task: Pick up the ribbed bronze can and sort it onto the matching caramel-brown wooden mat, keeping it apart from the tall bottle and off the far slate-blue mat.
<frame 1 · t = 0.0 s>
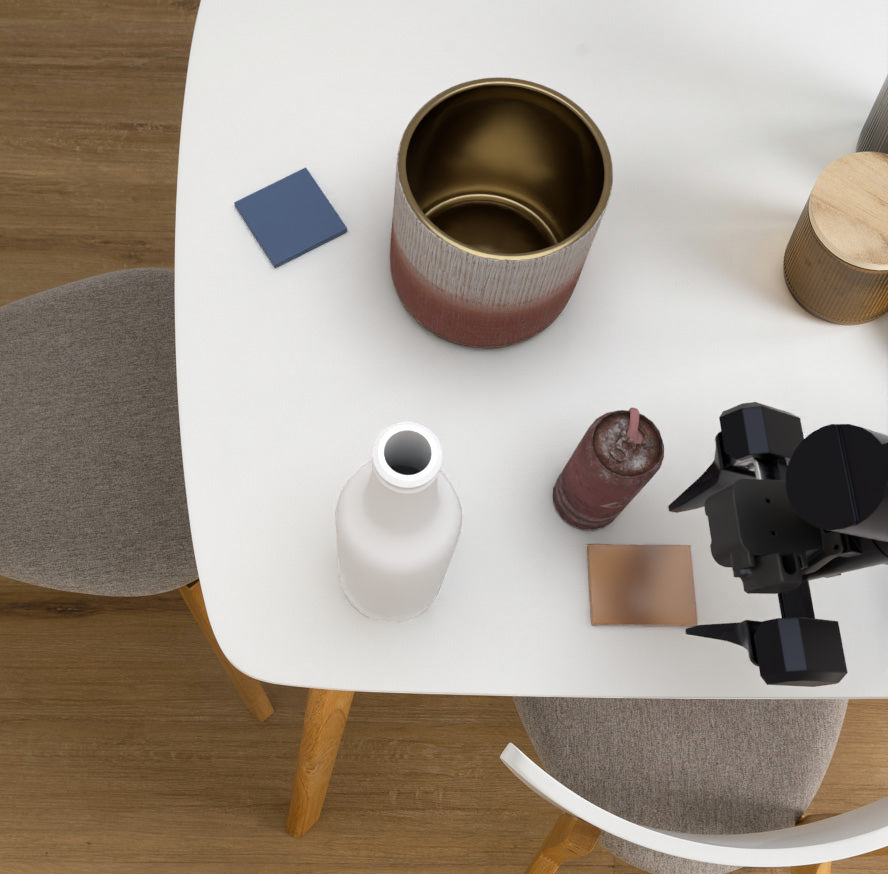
hand: (680, 569, 71), 13 cm above the table, tool tilted 35°, fingers open, 9 cm apart
can: (585, 498, 86), on the table
slate mat: (290, 218, 93), on the table
caramel mat: (640, 585, 84), on the table
planter: (481, 270, 93), on the table
alcohol: (390, 574, 83), on the table
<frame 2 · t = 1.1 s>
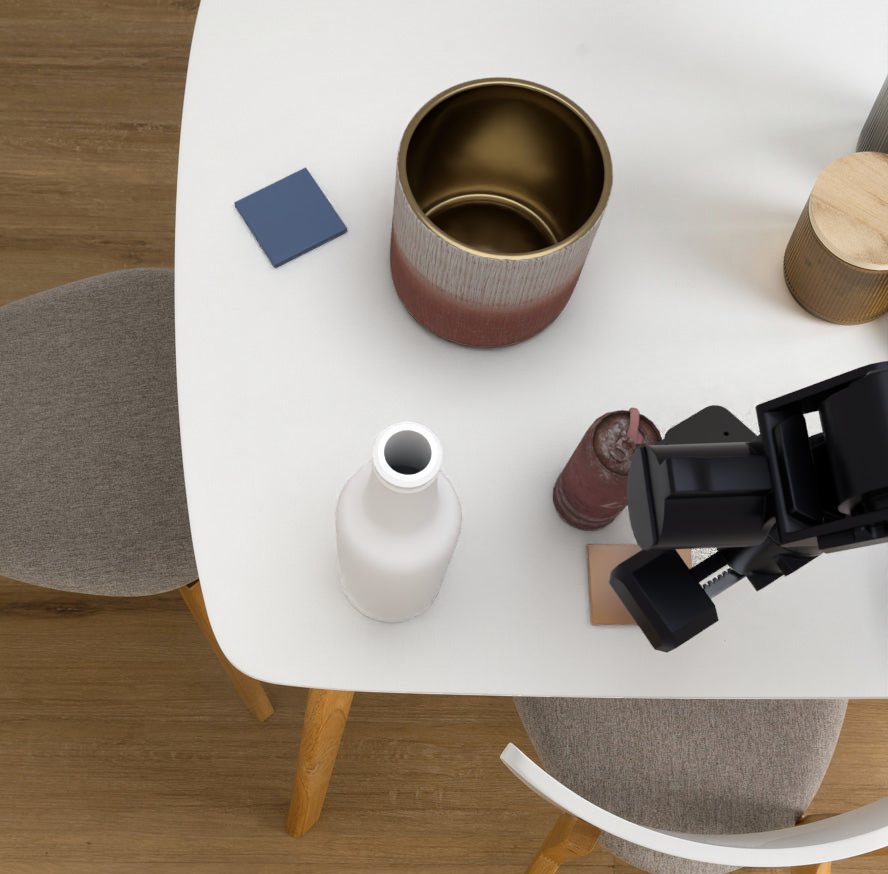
hand: (706, 569, 71), 13 cm above the table, tool pointing down, fingers open, 9 cm apart
nothing on the table moved.
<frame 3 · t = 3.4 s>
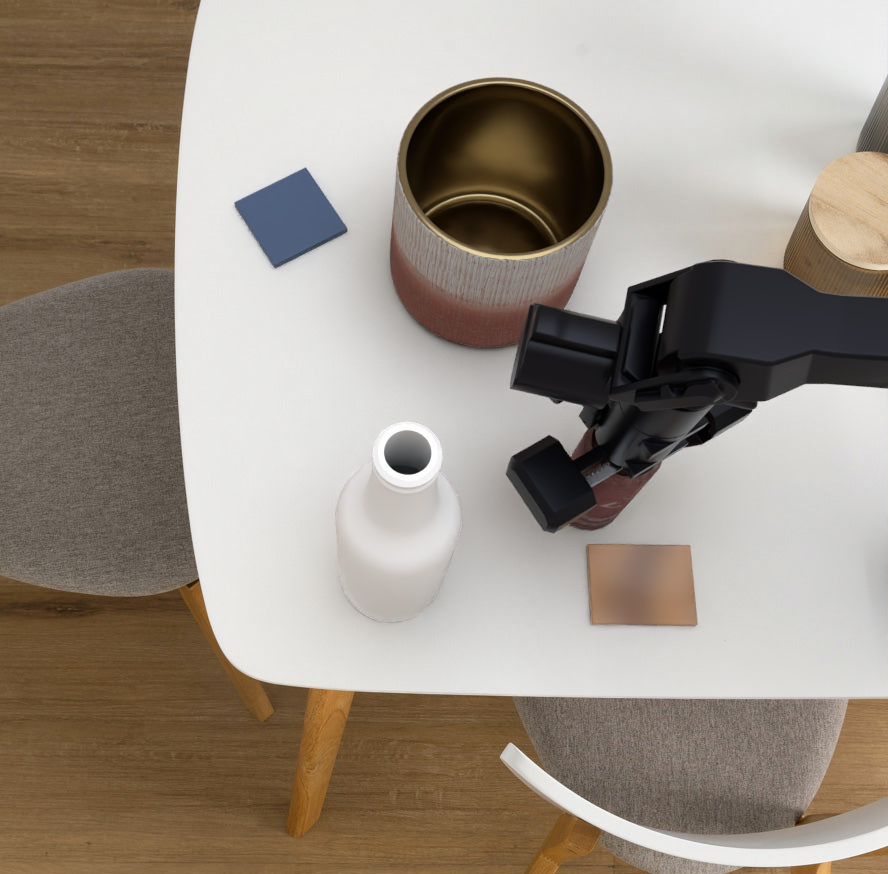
hand: (602, 473, 80), 6 cm above the table, tool pointing down
can: (585, 498, 86), on the table, touching gripper
everything else where it was.
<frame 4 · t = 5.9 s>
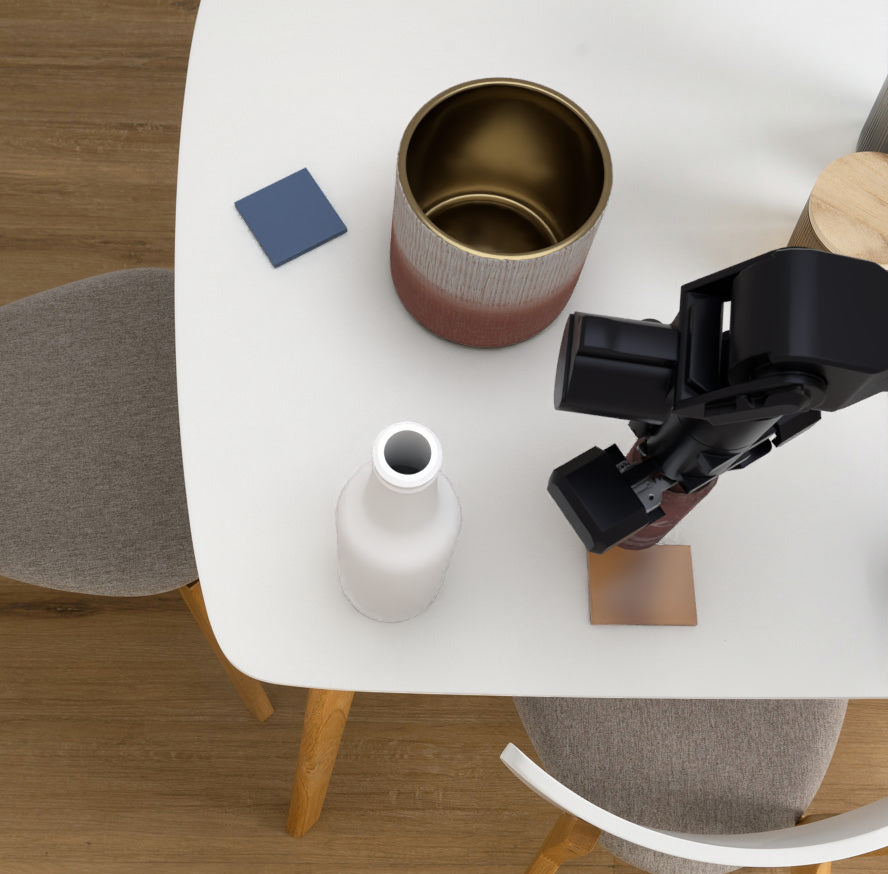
hand: (651, 487, 73), 13 cm above the table, tool pointing down, fingers closed on can, 5 cm apart
can: (629, 515, 80), point 6 cm above the table, touching gripper
everything else where it was.
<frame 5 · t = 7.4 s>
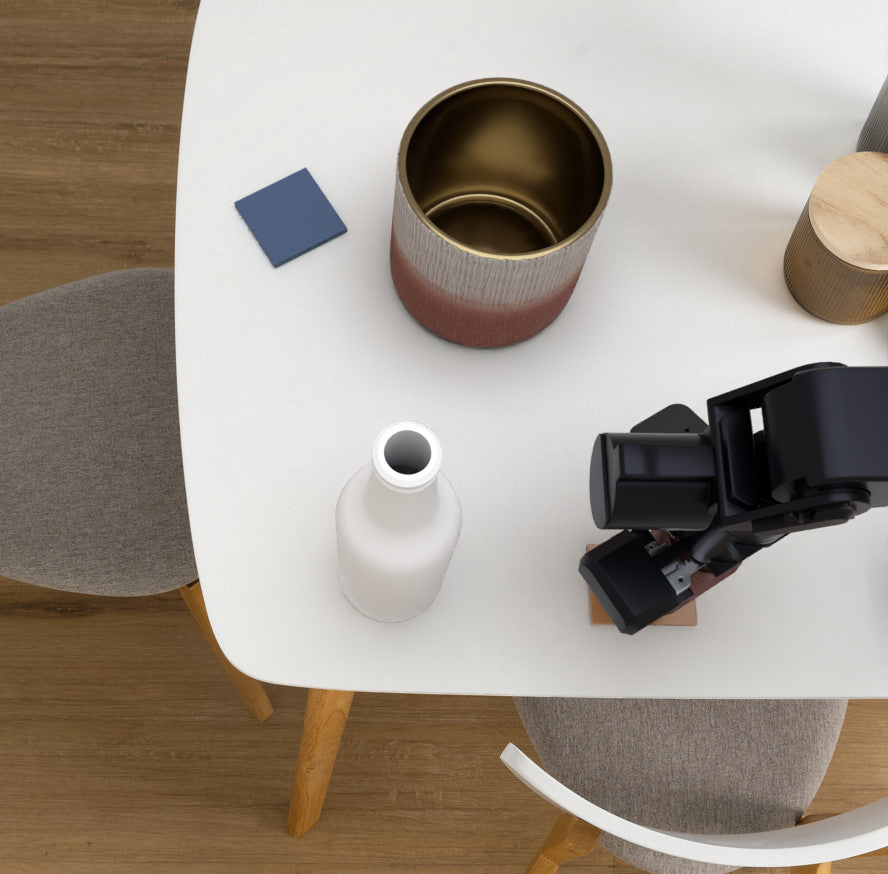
hand: (675, 558, 75), 9 cm above the table, tool pointing down, fingers closed on can, 5 cm apart
can: (652, 580, 81), point 2 cm above the table, touching gripper
everything else where it was.
when the fingers open (7 cm above the table, at t = 8.4 s): can stays where it is, resting on caramel mat.
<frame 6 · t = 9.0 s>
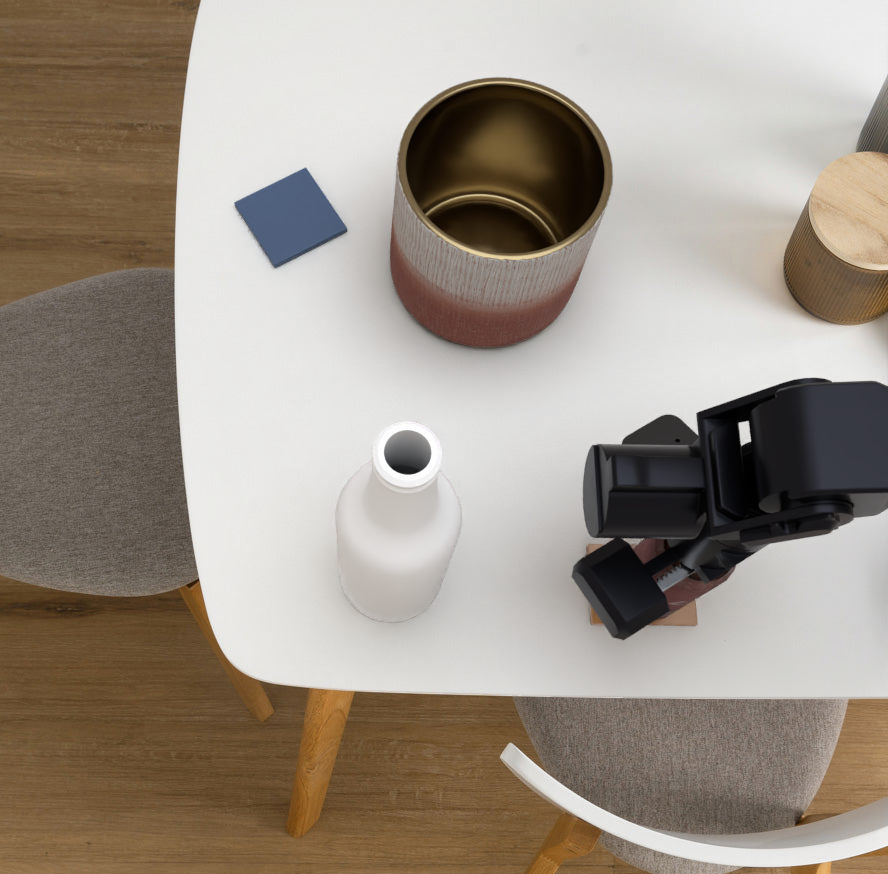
hand: (666, 564, 76), 8 cm above the table, tool pointing down, fingers open, 9 cm apart
can: (645, 585, 83), resting on caramel mat
everything else where it was.
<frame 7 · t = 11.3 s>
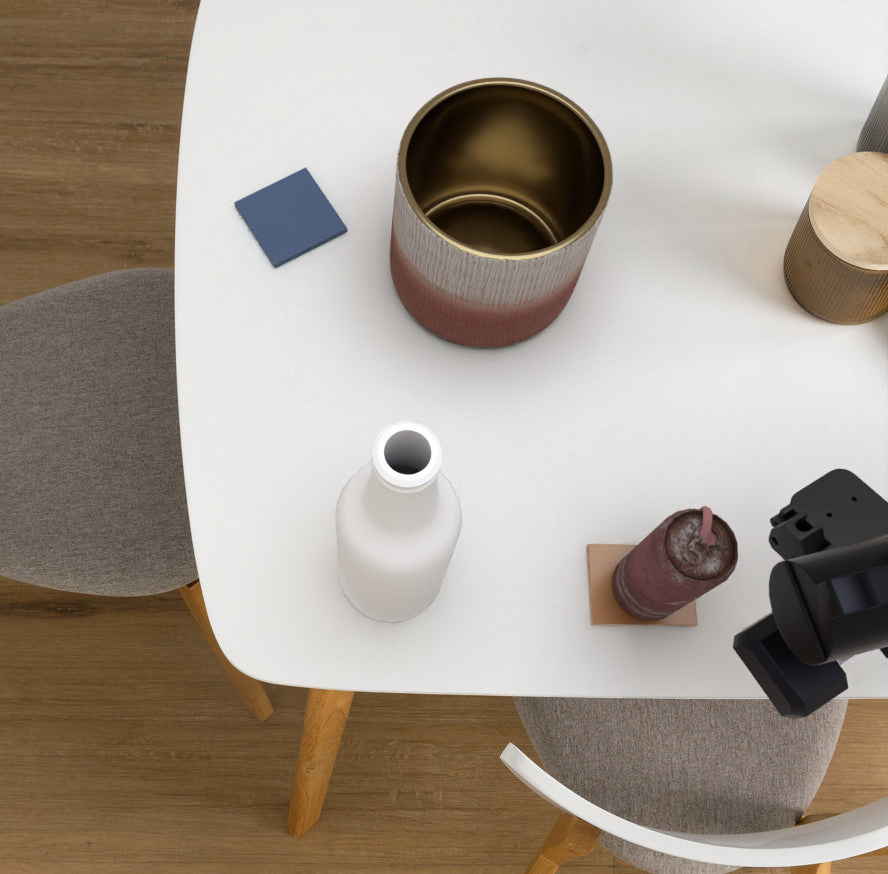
hand: (819, 625, 70), 13 cm above the table, tool pointing down, fingers open, 9 cm apart
nothing on the table moved.
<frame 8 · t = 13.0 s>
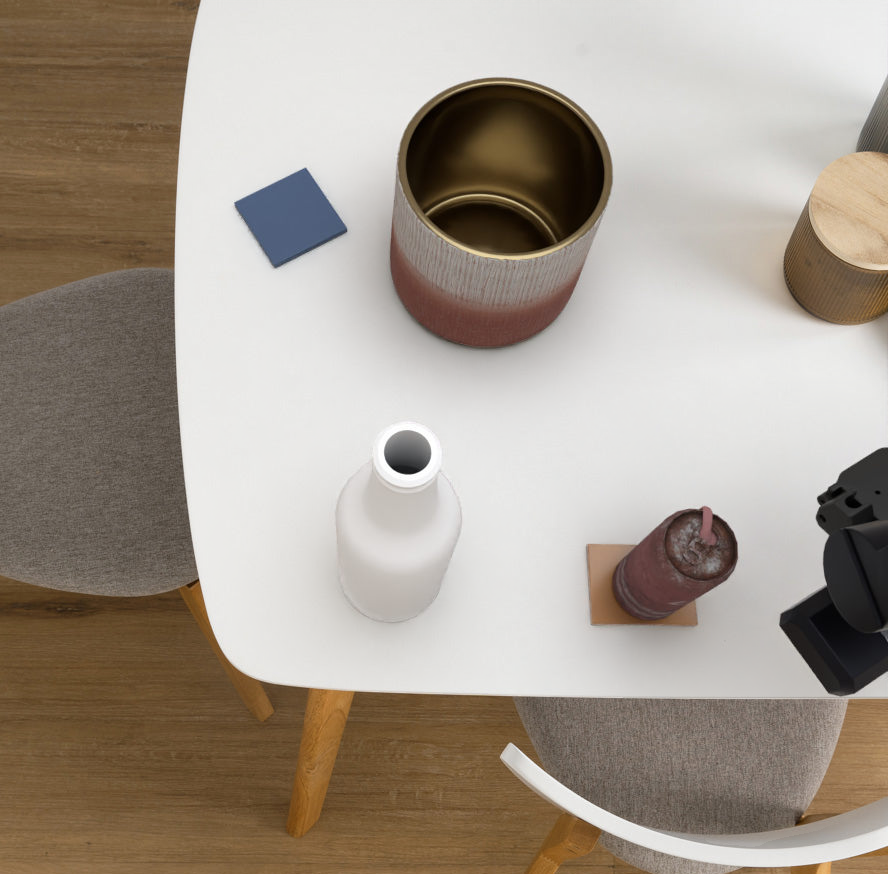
hand: (858, 607, 70), 13 cm above the table, tool pointing down, fingers open, 9 cm apart
nothing on the table moved.
at the end: can inside the target area on the caramel mat (0.4 cm from its centre), point 0.4 cm above the caramel mat's base; can tilted 0°; can touching caramel mat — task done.
